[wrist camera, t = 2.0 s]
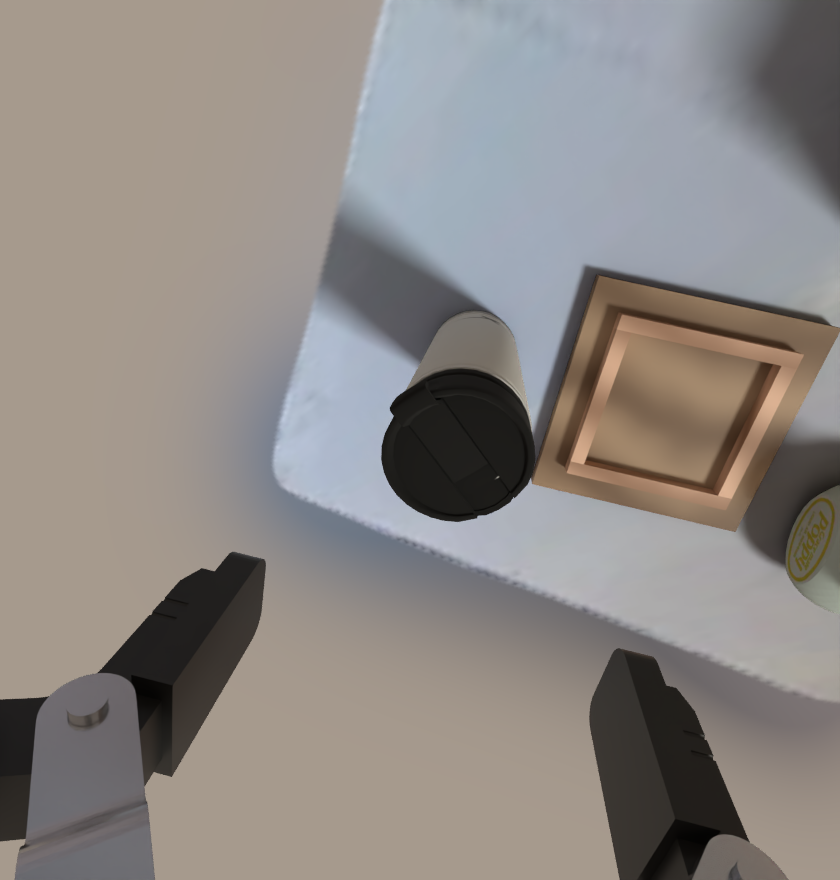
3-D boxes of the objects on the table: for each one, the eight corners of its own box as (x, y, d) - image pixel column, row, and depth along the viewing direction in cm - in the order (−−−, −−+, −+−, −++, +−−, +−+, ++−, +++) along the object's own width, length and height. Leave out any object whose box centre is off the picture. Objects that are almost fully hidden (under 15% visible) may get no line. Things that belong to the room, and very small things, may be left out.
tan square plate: (596, 274, 36) (602, 277, 34) (832, 325, 35) (851, 331, 33) (531, 478, 42) (533, 489, 40) (729, 525, 41) (740, 539, 39)
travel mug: (483, 288, 37) (474, 348, 18) (532, 364, 38) (569, 489, 20) (412, 337, 39) (340, 436, 20) (462, 408, 40) (436, 558, 22)
